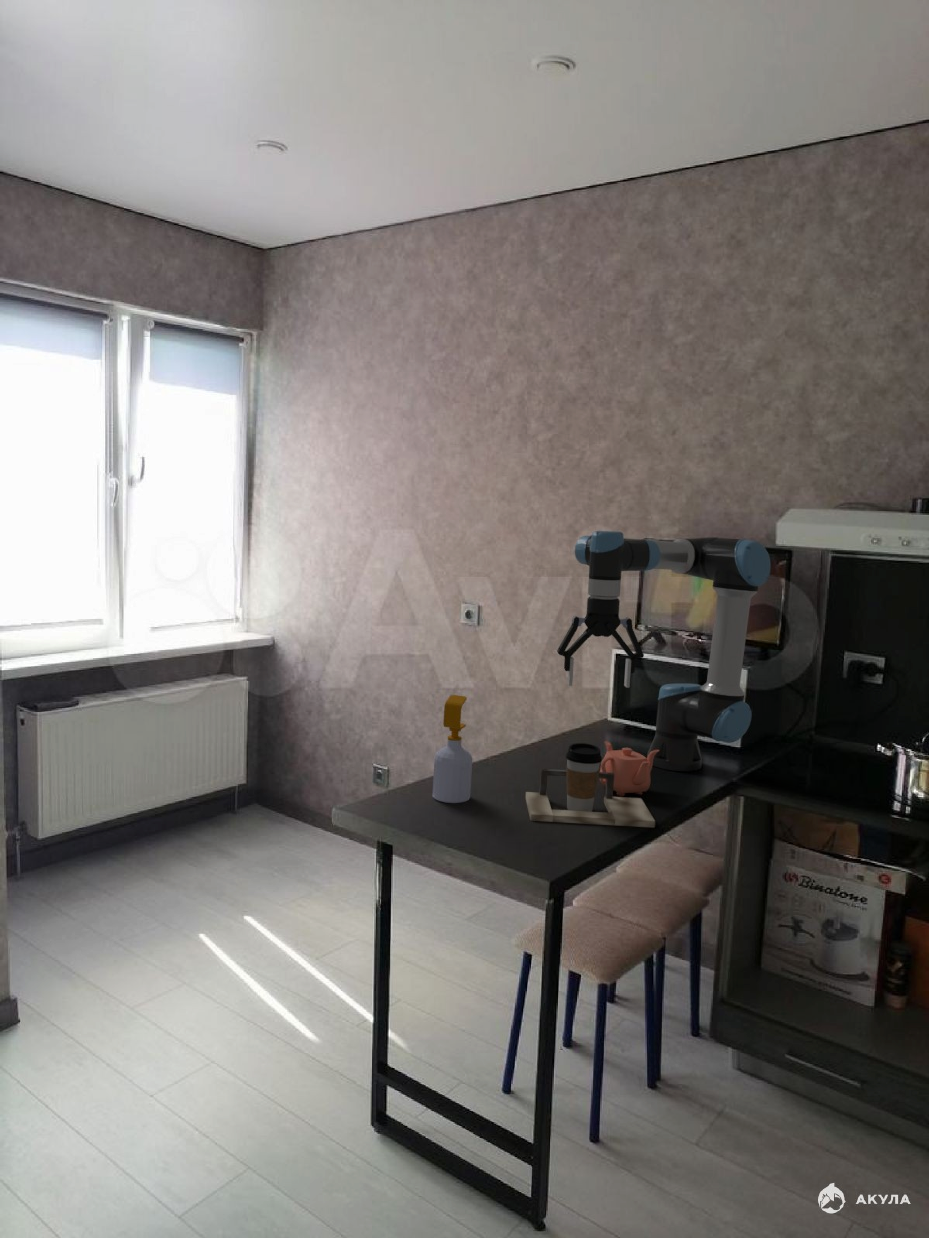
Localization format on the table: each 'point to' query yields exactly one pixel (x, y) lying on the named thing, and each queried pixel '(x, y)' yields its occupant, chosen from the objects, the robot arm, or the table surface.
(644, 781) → the teapot
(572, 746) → the coffee cup
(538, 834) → the table surface
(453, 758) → the spray bottle
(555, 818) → the cream rectangular frame
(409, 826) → the table surface
